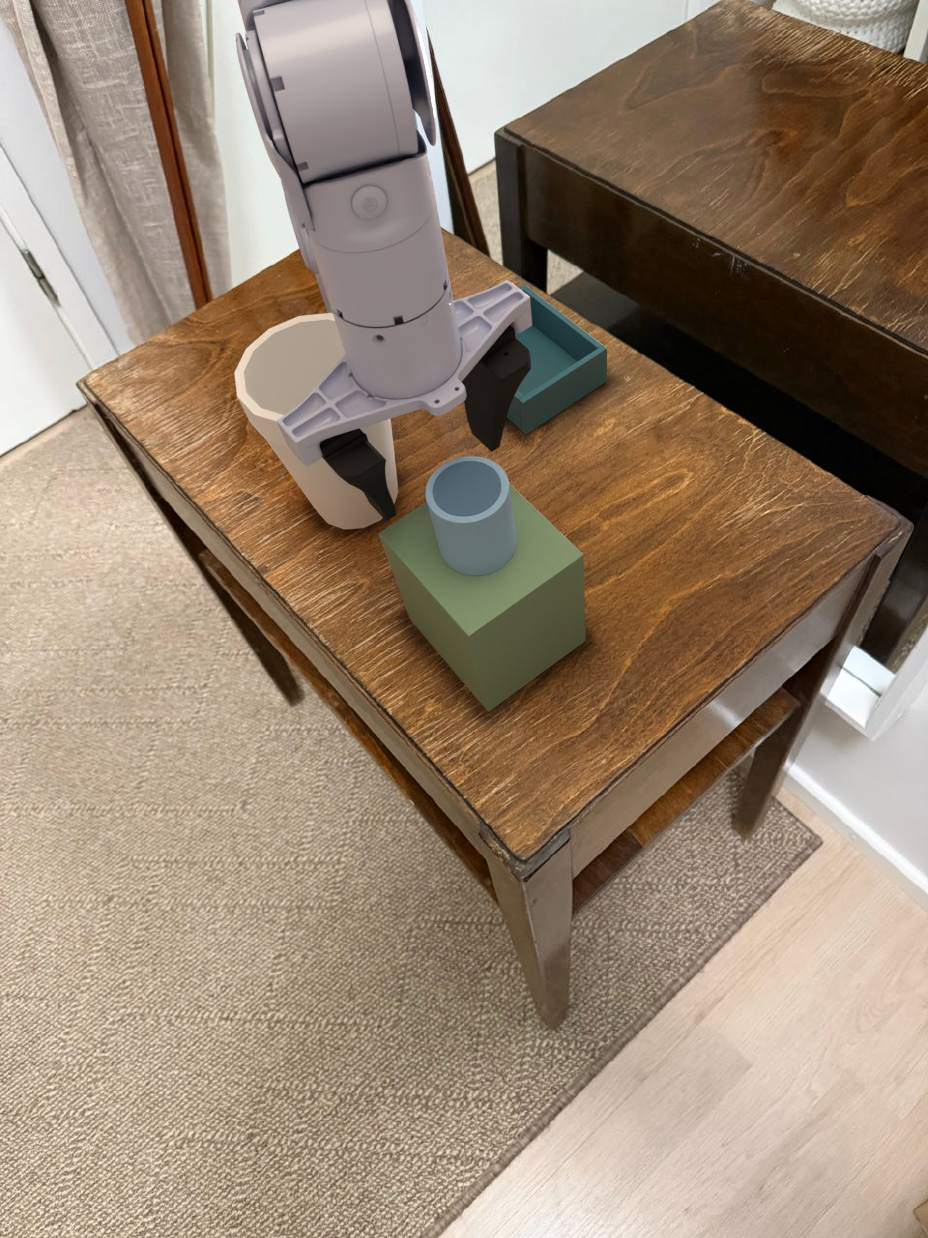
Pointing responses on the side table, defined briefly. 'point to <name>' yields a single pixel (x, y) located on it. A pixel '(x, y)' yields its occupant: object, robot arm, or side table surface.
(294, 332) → the foam cup
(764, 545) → the side table surface
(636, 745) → the side table surface
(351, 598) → the side table surface
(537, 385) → the bin
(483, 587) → the sage green cube
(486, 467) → the blue cup
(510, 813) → the side table surface
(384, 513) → the robot arm
